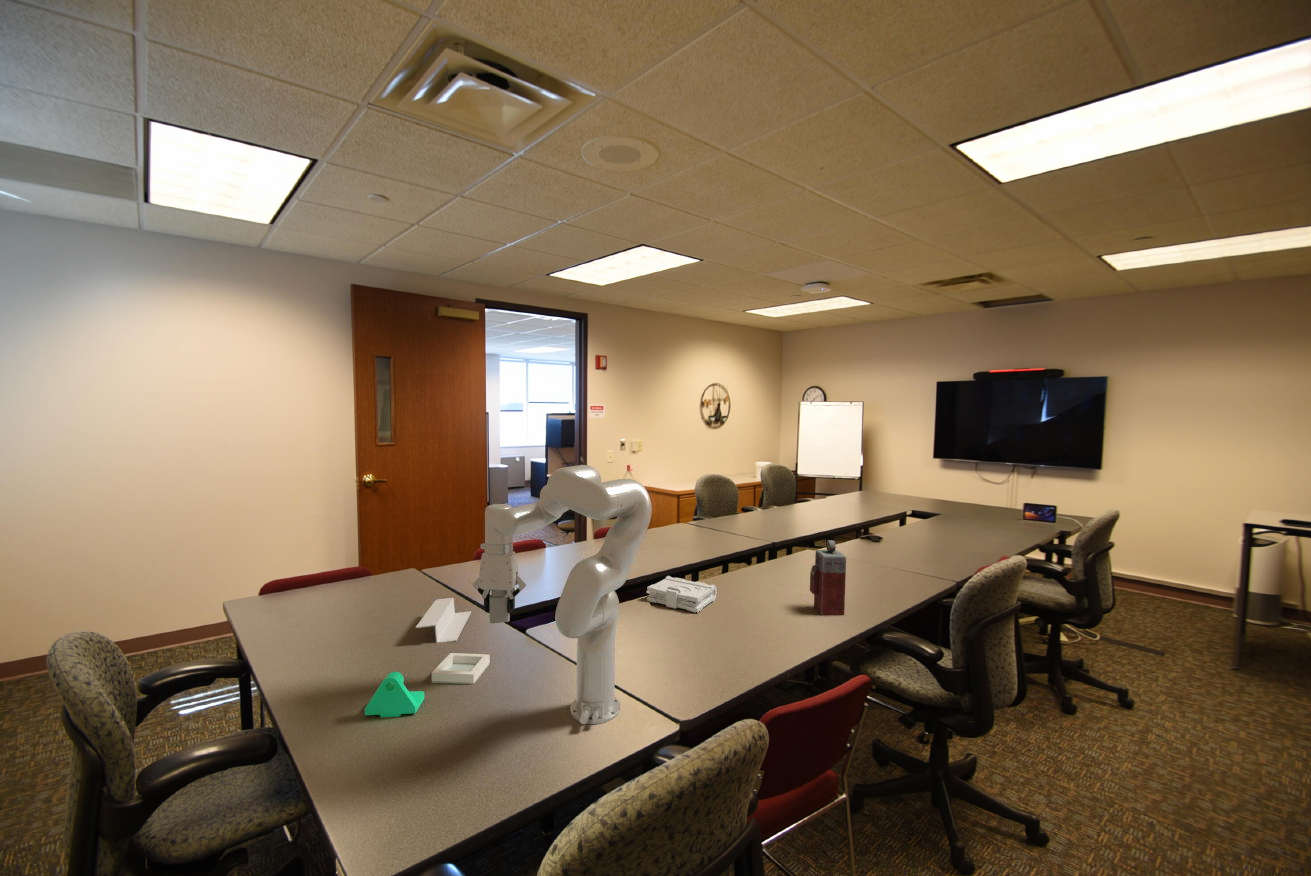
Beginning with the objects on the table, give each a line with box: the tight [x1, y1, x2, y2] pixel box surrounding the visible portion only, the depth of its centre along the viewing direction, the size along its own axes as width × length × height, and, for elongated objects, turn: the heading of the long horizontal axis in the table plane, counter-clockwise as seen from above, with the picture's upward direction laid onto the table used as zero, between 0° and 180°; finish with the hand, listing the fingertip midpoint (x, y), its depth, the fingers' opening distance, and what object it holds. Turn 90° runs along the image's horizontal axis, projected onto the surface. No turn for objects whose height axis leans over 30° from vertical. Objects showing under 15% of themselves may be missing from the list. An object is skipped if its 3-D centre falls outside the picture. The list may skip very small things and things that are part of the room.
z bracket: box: [415, 597, 472, 644], centre depth 186 cm, size 12×25×6 cm, turn 8°
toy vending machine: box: [809, 539, 847, 617], centre depth 205 cm, size 9×11×28 cm
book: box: [646, 575, 718, 613], centre depth 217 cm, size 19×28×8 cm
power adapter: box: [489, 590, 511, 624], centre depth 152 cm, size 3×5×12 cm, turn 107°
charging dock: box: [431, 652, 491, 685], centre depth 154 cm, size 12×12×3 cm
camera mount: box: [364, 671, 425, 718], centre depth 136 cm, size 12×8×10 cm, turn 96°
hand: (499, 610), depth 152 cm, fingers closed on power adapter, 5 cm apart
